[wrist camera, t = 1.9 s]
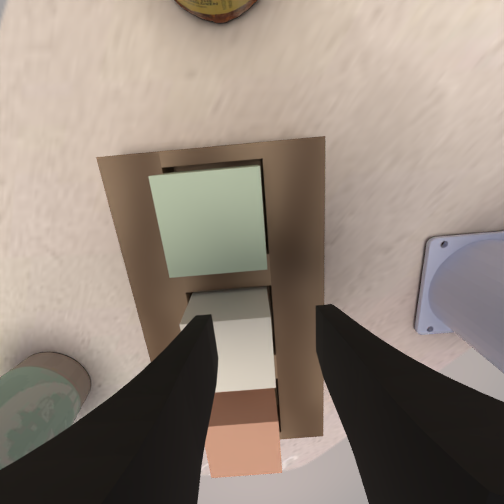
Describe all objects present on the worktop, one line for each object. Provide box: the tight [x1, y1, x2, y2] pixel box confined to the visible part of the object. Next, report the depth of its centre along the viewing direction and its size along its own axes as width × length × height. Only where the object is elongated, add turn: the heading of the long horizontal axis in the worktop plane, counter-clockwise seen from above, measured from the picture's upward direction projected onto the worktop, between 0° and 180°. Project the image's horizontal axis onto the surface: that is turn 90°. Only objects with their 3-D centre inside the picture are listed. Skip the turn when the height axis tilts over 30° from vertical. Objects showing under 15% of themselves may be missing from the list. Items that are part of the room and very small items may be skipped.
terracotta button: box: [205, 388, 282, 478], centre depth 19 cm, size 5×5×4 cm
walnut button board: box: [96, 136, 325, 439], centre depth 19 cm, size 12×22×3 cm, turn 5°
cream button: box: [179, 286, 276, 392], centre depth 16 cm, size 5×5×4 cm
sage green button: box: [148, 165, 267, 278], centre depth 14 cm, size 5×5×4 cm
